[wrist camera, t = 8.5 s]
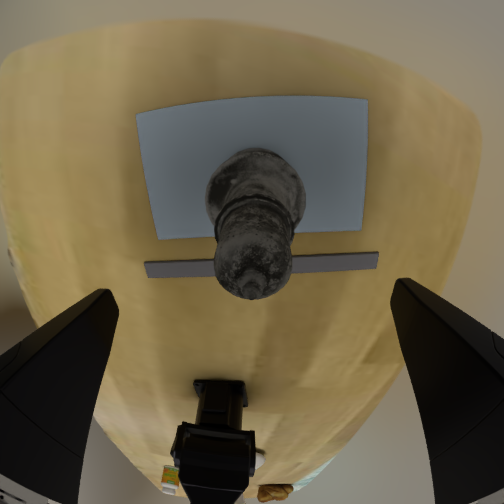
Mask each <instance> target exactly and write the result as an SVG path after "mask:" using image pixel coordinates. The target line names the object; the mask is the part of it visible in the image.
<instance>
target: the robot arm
mask: <svg viewBox="0 0 504 504" xmlns="http://www.w3.org/2000/svg"><path fill="white" fill-rule="evenodd" d="M390 306H391V310H392V314H393V318H394V322H395V326H396V331H397V335H398V339H399V343H400V347H401V351H402V354H403V357H404V360H405V363H406V366H407V370H408V373H409V376H410V379H411V383H412V386H413V390H414V393H415V397H416V401H417V405H418V408H419V412H420V416H421V421H422V425H423V429H424V434H425V439H426V444H427V449H428V454H429V460H430V466H431V473H432V480H433V488H434V497H435V504H469V503H472V502H474V501H477V500H478V503H476V504H504V339H503V338H501V337H500V336H498V335H497V334H496V333H494V332H491V330H490V329H488V328H487V327H485V326H484V325H482V324H481V323H480V322H478V321H477V320H475V319H474V318H472V317H471V316H469V315H468V314H466V313H465V312H463V311H462V310H460V309H459V308H457V307H456V306H454V305H452V304H451V303H449V302H448V301H446V300H445V299H443V298H441V297H440V296H438V295H437V294H435V293H433V292H432V291H430V290H429V289H427V288H425V287H424V286H422V285H420V284H419V283H417V282H416V281H414V280H412V279H411V278H399V279H397V280H396V282H395V285H394V289H393V292H392V296H391V300H390ZM118 317H119V308H118V306H117V303H116V301H115V299H114V296H113V294H112V292H111V291H110V290H109V289H97V290H96V291H94V292H93V293H91V294H89V295H88V296H86V297H85V298H83V299H82V300H80V301H79V302H77V303H76V304H74V305H72V306H71V307H69V308H68V309H66V310H65V311H63V312H62V313H60V314H59V315H57V316H56V317H54V318H53V319H52V320H50V321H49V322H47V323H46V324H44V325H43V326H41V327H40V328H38V329H37V330H36V331H34V332H33V333H31V334H30V335H29V336H27V337H26V338H24V339H23V340H22V341H20V342H19V343H17V344H16V345H14V346H13V347H12V348H10V349H9V350H7V351H6V352H5V353H3V354H2V355H0V504H49V503H48V499H51V500H53V501H56V502H59V503H61V504H78V495H79V486H80V479H81V472H82V466H83V458H84V453H85V448H86V443H87V438H88V434H89V429H90V424H91V420H92V416H93V412H94V408H95V404H96V400H97V396H98V393H99V389H100V385H101V382H102V378H103V375H104V371H105V368H106V365H107V362H108V358H109V355H110V351H111V347H112V342H113V338H114V333H115V329H116V325H117V321H118ZM193 385H194V388H195V390H196V392H197V394H198V397H199V403H198V409H197V415H196V421H195V424H191V423H187V422H184V421H183V422H182V425H179V426H178V428H177V433H176V437H175V440H174V443H173V446H172V448H171V452H170V455H171V456H172V457H173V458H174V466H175V467H177V468H179V472H178V478H179V480H180V483H181V485H182V487H183V489H184V491H185V493H186V495H187V496H188V498H189V500H190V502H191V503H190V504H234V503H235V502H236V501H237V499H238V498H239V497H240V496H241V494H242V493H243V492H244V491H245V489H246V488H247V487H248V485H249V477H253V476H254V472H255V466H256V448H255V431H253V430H250V431H244V430H242V412H243V407H248V400H247V394H246V389H245V383H244V382H235V381H201V380H195V381H194V382H193Z"/></svg>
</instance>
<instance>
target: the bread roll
mask: <svg viewBox="0 0 504 504" xmlns="http://www.w3.org/2000/svg"><path fill="white" fill-rule="evenodd" d="M293 490H294V489H293V486H291V485H283V484H282V485H275V484H269V485H262V486H260V487H259V490H258V495H257V498H258V500H259V502H267V501H270V500H274V499H275V500H279V501H280V500H284V499H286V498H287V497H288V494H289V493H291V492H292V491H293Z"/></svg>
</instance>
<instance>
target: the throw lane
mask: <svg viewBox="0 0 504 504" xmlns="http://www.w3.org/2000/svg"><path fill="white" fill-rule="evenodd" d="M136 121H137V129H138V136H139V143H140V150H141V156H142V162H143V168H144V174H145V179H146V185H147V190H148V195H149V200H150V205H151V210H152V214H153V219H154V223H155V228H156V232H157V236H158V240H161V239H177V238H195V237H213V236H215V233H214V225H213V224H212V223H211V221H210V219H209V216H208V214H207V212H206V206H205V193H206V187H207V184H208V182H209V180H210V178H211V175H212V174H213V173H214V172H215V170H216V169H217V168H218V167H219V166H220V165H221V164H222V163H224V162H225V161H227V160H228V159H229V158H230V157H231V156H233V155H234V154H236V153H237V152H239V151H242V150H245V149H248V148H263V149H268V150H270V151H272V152H274V153H276V154H278V155H279V156H281V157H282V158H283V159H284V160H285V161H286V162H287V163H288V164H289V165H290V166H292V167H293V168H294V169H295V170H296V172H297V173H298V175H299V177H300V178H301V180H302V182H303V185H304V189H305V192H306V208H305V211H304V214H303V218H302V220H301V221H300V223H299V224H298V226H297V228H296V229H295V231H294V233H300V232H328V231H361V227H362V219H363V209H364V198H365V185H366V169H367V145H368V100H366V99H356V98H344V97H328V96H261V97H244V98H232V99H222V100H213V101H205V102H198V103H191V104H184V105H178V106H173V107H167V108H162V109H157V110H152V111H147V112H143V113H139V114H136ZM378 257H379V253H378V252H364V253H343V254H322V255H300V256H292V271H291V273H310V272H329V271H346V270H362V269H376V267H377V262H378ZM144 266H145V269H146V273H147V276H148V278H169V277H211V276H215V270H214V259H204V260H179V261H152V262H144Z"/></svg>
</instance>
